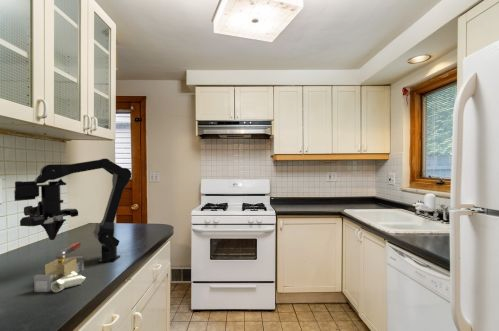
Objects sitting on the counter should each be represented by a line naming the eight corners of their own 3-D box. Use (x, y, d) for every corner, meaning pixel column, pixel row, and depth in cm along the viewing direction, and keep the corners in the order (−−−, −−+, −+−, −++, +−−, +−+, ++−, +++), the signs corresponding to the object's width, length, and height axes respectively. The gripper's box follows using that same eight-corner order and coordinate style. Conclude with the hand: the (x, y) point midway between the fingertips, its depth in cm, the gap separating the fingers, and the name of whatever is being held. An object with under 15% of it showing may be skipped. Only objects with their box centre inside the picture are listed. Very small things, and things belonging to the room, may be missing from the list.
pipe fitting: (87, 282, 92) (68, 281, 92) (87, 271, 92) (68, 270, 92) (71, 294, 84) (50, 292, 84) (71, 282, 84) (50, 280, 84)
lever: (63, 258, 92) (63, 253, 92) (53, 258, 92) (53, 253, 92) (82, 246, 104) (82, 242, 104) (73, 247, 104) (73, 242, 104)
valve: (69, 269, 102) (69, 248, 102) (86, 269, 102) (85, 248, 102) (31, 292, 84) (31, 267, 84) (52, 291, 84) (51, 266, 84)
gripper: (55, 194, 110) (56, 232, 110) (6, 201, 92) (7, 246, 92) (78, 194, 108) (79, 233, 108) (32, 201, 89) (34, 248, 90)
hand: (52, 239), depth 99 cm, fingers closed
